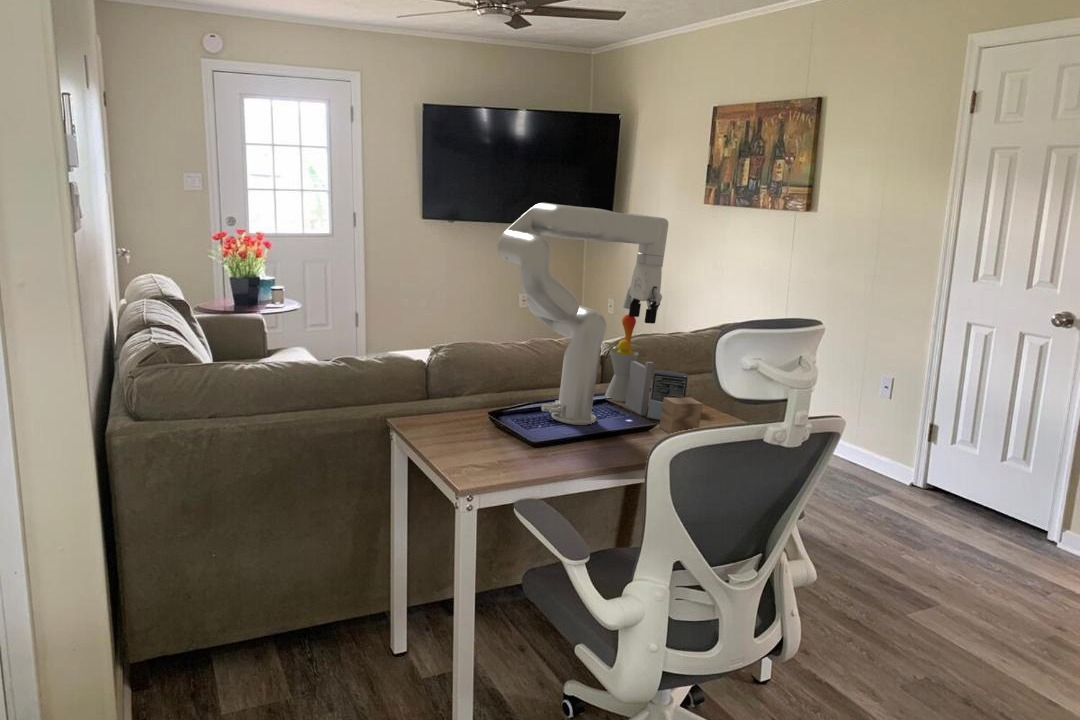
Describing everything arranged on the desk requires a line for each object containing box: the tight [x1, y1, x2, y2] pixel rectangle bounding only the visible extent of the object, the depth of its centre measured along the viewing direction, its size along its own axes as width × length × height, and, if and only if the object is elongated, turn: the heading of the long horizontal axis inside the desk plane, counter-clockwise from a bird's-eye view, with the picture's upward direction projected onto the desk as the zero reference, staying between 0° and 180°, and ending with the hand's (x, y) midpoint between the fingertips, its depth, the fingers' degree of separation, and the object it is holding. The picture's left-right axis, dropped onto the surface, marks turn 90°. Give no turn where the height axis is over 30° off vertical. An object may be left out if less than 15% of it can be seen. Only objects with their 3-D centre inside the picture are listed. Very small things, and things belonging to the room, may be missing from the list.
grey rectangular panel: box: [624, 360, 655, 416], centre depth 243 cm, size 2×10×16 cm, turn 21°
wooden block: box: [659, 397, 704, 435], centre depth 227 cm, size 9×6×9 cm, turn 112°
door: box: [646, 399, 663, 421], centre depth 234 cm, size 2×15×5 cm, turn 64°
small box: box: [649, 369, 689, 402], centre depth 253 cm, size 11×6×10 cm, turn 84°
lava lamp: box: [604, 287, 640, 402], centre depth 253 cm, size 9×9×35 cm
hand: (641, 319), depth 234 cm, fingers open, 9 cm apart
